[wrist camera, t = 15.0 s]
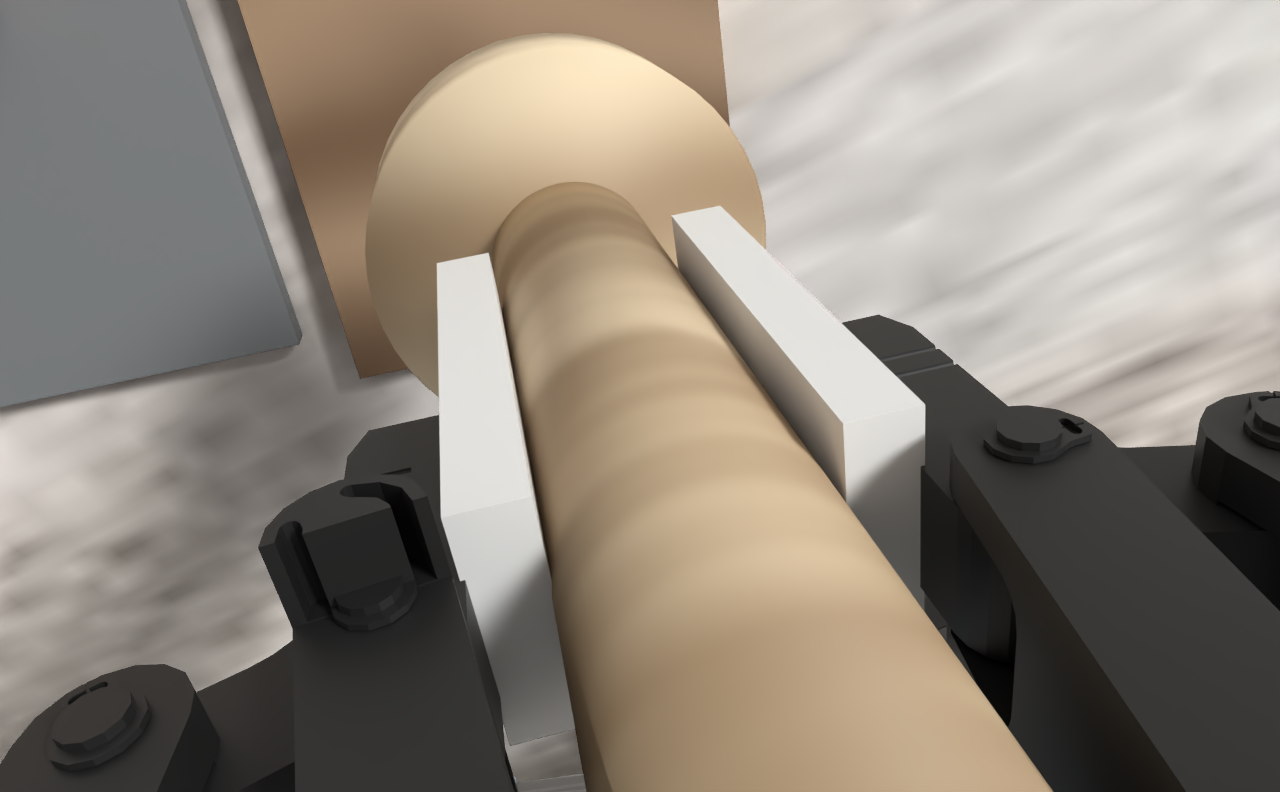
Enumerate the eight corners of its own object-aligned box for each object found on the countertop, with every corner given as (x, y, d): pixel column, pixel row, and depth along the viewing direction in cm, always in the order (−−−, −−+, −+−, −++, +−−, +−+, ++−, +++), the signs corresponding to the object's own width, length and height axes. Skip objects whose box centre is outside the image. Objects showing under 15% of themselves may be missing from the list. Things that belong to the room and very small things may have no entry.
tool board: (737, 285, 32) (745, 295, 31) (362, 365, 31) (360, 378, 30) (694, -143, 26) (703, -146, 25) (222, -68, 25) (215, -68, 24)
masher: (742, 342, 20) (1360, 1170, 7) (425, 412, 20) (412, 1501, 6) (707, 1, 17) (1781, 300, 3) (325, 70, 16) (-200, 792, 3)
